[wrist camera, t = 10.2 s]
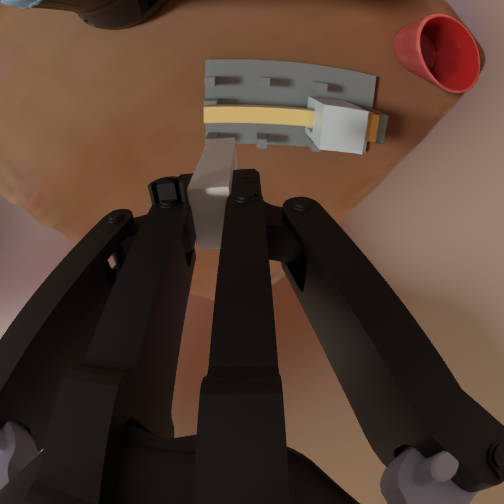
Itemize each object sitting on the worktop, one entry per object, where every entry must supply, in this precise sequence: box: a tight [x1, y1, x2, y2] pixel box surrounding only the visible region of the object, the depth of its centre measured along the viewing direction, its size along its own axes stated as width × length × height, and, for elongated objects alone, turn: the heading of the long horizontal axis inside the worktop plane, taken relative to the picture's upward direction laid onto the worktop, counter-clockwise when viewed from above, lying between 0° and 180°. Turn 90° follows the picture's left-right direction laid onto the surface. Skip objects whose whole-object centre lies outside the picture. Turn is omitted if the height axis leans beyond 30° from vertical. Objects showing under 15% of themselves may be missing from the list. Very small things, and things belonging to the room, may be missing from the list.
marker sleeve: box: [305, 96, 369, 154], centre depth 30 cm, size 5×5×8 cm
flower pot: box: [393, 14, 480, 93], centre depth 24 cm, size 11×11×10 cm
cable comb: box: [204, 59, 388, 153], centre depth 32 cm, size 12×23×7 cm, turn 88°
